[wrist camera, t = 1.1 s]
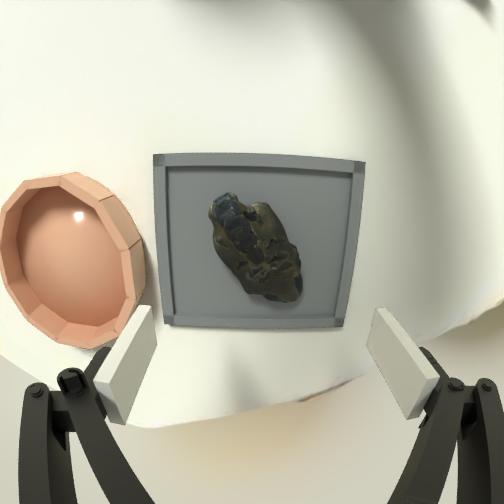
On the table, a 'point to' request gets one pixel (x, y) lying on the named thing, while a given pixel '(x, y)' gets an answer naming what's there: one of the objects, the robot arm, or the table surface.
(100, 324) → the bowl
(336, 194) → the tray
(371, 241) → the table surface
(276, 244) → the stone
